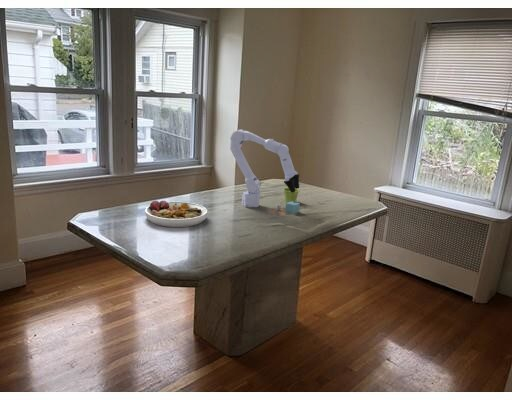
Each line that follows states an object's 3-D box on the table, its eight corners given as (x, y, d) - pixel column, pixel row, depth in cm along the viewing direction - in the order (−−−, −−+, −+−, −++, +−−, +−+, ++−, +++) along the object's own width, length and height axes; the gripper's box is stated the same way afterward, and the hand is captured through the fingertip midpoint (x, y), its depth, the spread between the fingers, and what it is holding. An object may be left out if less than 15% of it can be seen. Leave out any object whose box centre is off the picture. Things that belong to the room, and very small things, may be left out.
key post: (276, 210, 231) (276, 204, 230) (275, 209, 232) (276, 203, 231) (280, 210, 232) (281, 204, 231) (279, 209, 233) (280, 203, 232)
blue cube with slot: (293, 214, 227) (294, 205, 225) (285, 212, 229) (286, 202, 228) (299, 212, 231) (299, 203, 230) (290, 210, 234) (291, 201, 232)
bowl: (215, 215, 220) (216, 201, 218) (192, 233, 192) (192, 216, 190) (163, 207, 228) (163, 193, 226) (133, 223, 200) (133, 207, 198)
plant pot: (298, 206, 246) (299, 192, 244) (282, 205, 246) (283, 191, 244) (297, 202, 255) (298, 188, 253) (281, 201, 255) (282, 187, 253)
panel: (277, 217, 223) (277, 215, 223) (268, 210, 235) (268, 208, 234) (303, 216, 228) (303, 214, 228) (293, 209, 240) (293, 207, 239)
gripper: (290, 167, 220) (298, 192, 223) (298, 162, 233) (305, 185, 236) (278, 170, 224) (286, 195, 226) (287, 165, 236) (294, 188, 239)
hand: (295, 190), depth 231 cm, fingers open, 7 cm apart
